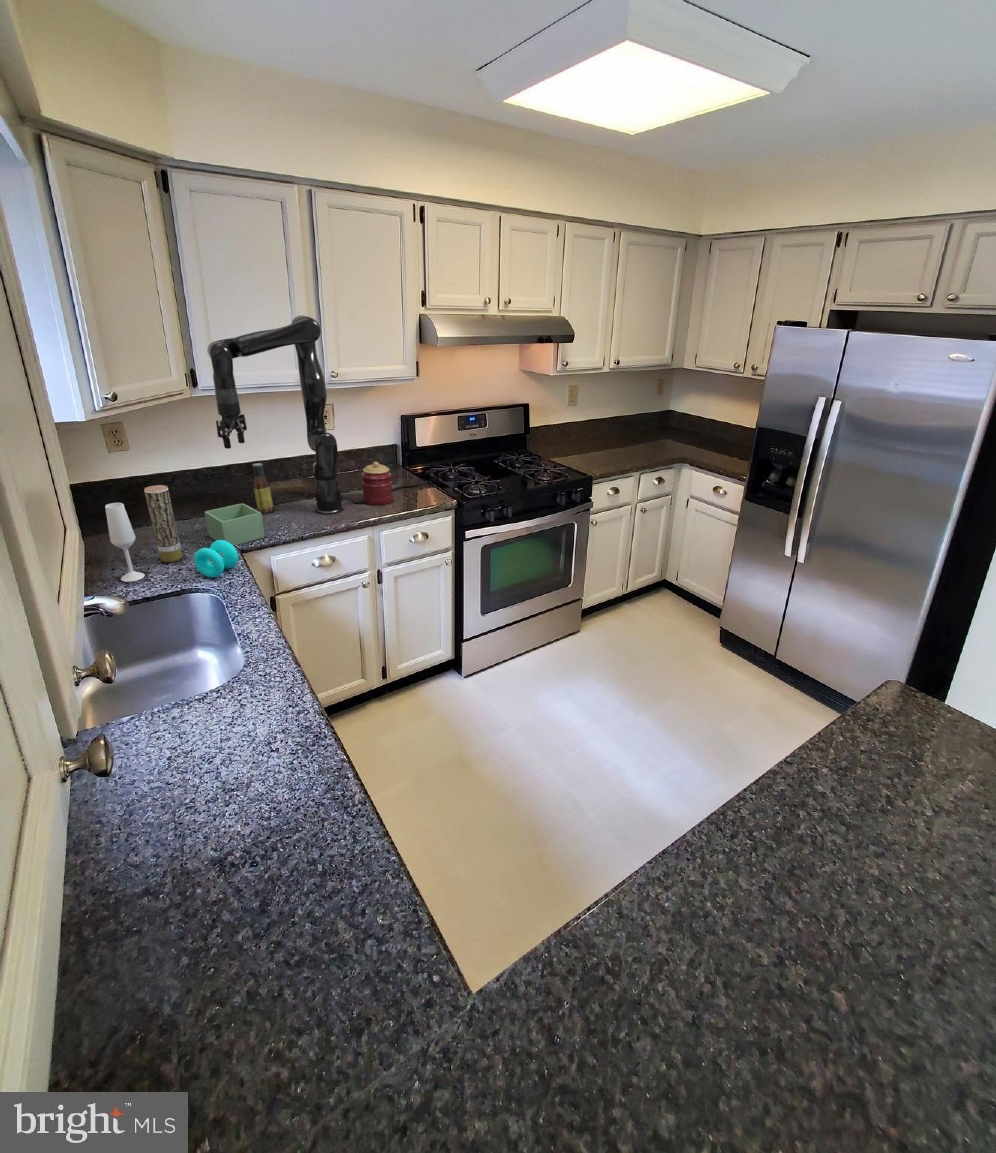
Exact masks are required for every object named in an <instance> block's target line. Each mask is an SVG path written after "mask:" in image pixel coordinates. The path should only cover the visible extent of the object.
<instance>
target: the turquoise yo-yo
mask: <svg viewBox="0 0 996 1153" xmlns="http://www.w3.org/2000/svg"><path fill="white" fill-rule="evenodd" d="M222 555H223V556H222ZM193 561H194V565H195V567H196V569H197V570H198V572H199V573H201V574H202V575H203V576H205V577H206V578H218V577H219V576H221V575H222V574H223V572H224V570H225V569H226V570H230V569H232V568H234V567H236V565H237V564H238V561H239V553H238V551H237V549H236V547H235V545H234V546H233V545H232V544H230V543H229V542H227V541H224V540H217V541H216V540H214V541H213V542H212V543H211V544H210V546H209V547H202V548H200V549H198V550H197V551H196V552H195V554H194V558H193Z"/></svg>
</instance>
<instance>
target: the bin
mask: <svg viewBox="0 0 996 1153" xmlns="http://www.w3.org/2000/svg"><path fill="white" fill-rule="evenodd" d="M262 514H263V513H261V512H259V511H258V510H256V509H254V508H253V507H251V506H249V505H247V504H245V503H237V504H232V505H228V506H223V507H219V508H214V509H209V510H206V511H204V517H205V522H206V528H207V533H208V537H209V538H211V539H212V540H214V541H217V540H224V541H227V542H229V543H230V544H232V545H233V546H234V547H235V546H237V545H241V544H244V543H249V542H253V541H256V540H260V539H264V538H265V537H266V536H265V529H264V521H263V515H262Z"/></svg>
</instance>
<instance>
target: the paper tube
mask: <svg viewBox="0 0 996 1153" xmlns="http://www.w3.org/2000/svg"><path fill="white" fill-rule="evenodd" d="M143 490H144V491H143V492H144V496H145V501H146V504H147V509H148V513H149V517H150V522H151V526H152V531H153V535H154V539H155V543H156V547H157V552H158V556H159V559H160V561H161V562H163V563H175V562H178V561H180V560H181V559H182V558H183V553H182V552H183V551H182V547H181V542H180V536H179V533H178V528H177V523H176V519H175V515H174V509H173V505H172V504H173V503H172V501H171V495H170V491H169V487H168V486H167V485H163V484H157V485H151V486H147V487H144V489H143Z"/></svg>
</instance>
